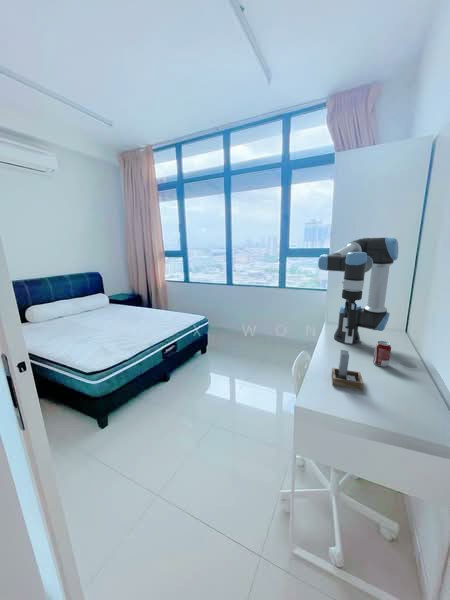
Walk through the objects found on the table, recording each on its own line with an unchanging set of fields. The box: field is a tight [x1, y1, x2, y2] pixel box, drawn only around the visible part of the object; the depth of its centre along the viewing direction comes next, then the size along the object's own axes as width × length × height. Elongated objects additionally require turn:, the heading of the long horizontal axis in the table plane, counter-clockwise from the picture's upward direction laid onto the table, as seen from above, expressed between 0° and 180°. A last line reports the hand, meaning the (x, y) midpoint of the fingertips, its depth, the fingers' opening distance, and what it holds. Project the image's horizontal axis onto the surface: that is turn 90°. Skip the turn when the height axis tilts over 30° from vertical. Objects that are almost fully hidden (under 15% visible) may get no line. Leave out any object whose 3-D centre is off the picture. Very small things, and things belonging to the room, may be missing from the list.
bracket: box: [337, 349, 356, 381], centre depth 110 cm, size 7×5×14 cm
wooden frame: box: [331, 367, 365, 392], centre depth 112 cm, size 10×12×4 cm
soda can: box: [372, 340, 392, 368], centre depth 127 cm, size 7×7×12 cm
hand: (346, 336), depth 108 cm, fingers open, 13 cm apart
